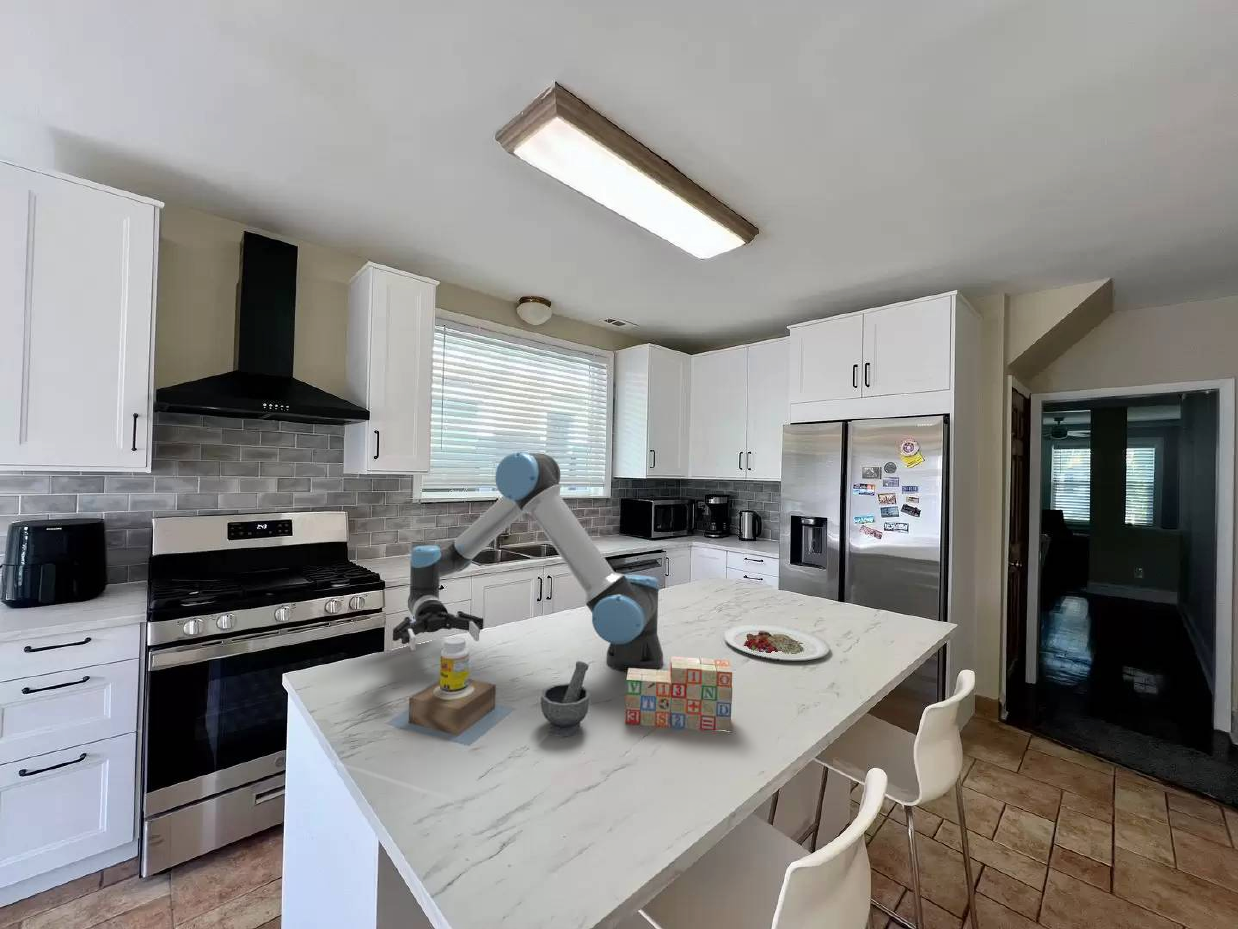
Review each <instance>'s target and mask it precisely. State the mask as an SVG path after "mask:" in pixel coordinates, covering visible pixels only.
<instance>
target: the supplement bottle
mask: <svg viewBox="0 0 1238 929" xmlns="http://www.w3.org/2000/svg"><path fill="white" fill-rule="evenodd" d="M469 666H470V649H469V648H468V647H467V646H466V638H464V637H462V636H455V637H454V636H453V637H449V638H447V639H445V643H444V648H443V649H442V650H441V652H440V670H439V674H440V676H439V681H440V690H441V692H443V693H444V694H449V695H453V694H459V693H462V692H464V691H465V690H466V689H467V688H468V679H469V677H470V676H469V671H470V670H469V668H470V667H469Z"/></svg>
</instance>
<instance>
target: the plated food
mask: <svg viewBox="0 0 1238 929" xmlns="http://www.w3.org/2000/svg"><path fill="white" fill-rule="evenodd" d="M746 632H759V633H758V635H753V634H750V633H749V634H747V635H746V637H747V640H748V641H747V640H746V641H745V643H744V645H743V646H747V647H748V648H749V649H751V650H753V651H754V650H755V651H759V652H764V651H765V652H766V653H771V652H772V651H775V652H778V651H782V652H783V653H785V654H786V653H787V654H789V653H791V654H797V653H800V652H802V651H803V652H804V650H805V649H804V648H803V647H802V646H801V645H800V644H803V643H802V642H799V641H796V640H793V639H792V638H790V637H789V636H787V635H784V634H779V633H785V634H788V635H792V636H795V637H797V638H803V639H804V640H806V641H808V642H810V643H811V644H814V645H815V647H816V650H817V652H816V653H815V654H814V655H810V654H809V656H807V657H801V658H780V657H772V656H767V655H762V654H758V653H754V652H752V651H749V650H746V649H744V648H742V647H741V646H739V645H738V644H737V643H736V641H735V639H736V638H737V637H738V636H739V635H741V634H743V633H746ZM769 632H779V633H778V634H772V635H773V636H772V635H771V634H770V633H769ZM723 638H724V640H725V642H726V643H727V644H728V645H730V646H731V647H733V648H734V649H736V650H739V651H741V652H744V653H746V654H749V655H754V656H756V657H760V656H761V658H765V657H766V659H770V658H771V660H777V659H779V660H778V661H808V660H815V659H820V658H823V657H825V656H826V655H828V654H829V653H830V650H831V648H830V644H828V642H827V641H826V640H825V639H823V638H822V637H820V636H818V635H816V634H814V633H810V632H807V631H805V630H800V629H797V628H792V627H789V626H781V625H773V624H745V625H743V624H742V625H737V626H734V627H731V628H730V629H728V630H726V631H725V632H724V636H723ZM798 642H799V643H798ZM806 650H807V649H806ZM809 650H813V649H809ZM814 650H815V649H814ZM803 656H806V655H803Z"/></svg>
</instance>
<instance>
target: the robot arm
mask: <svg viewBox="0 0 1238 929" xmlns="http://www.w3.org/2000/svg"><path fill="white" fill-rule="evenodd" d="M560 481H561V469H560V466H559V464H558V463H557V461H556V460H555V459H554V458H553V457H552V456H550V455H547V454H545V453H538V452H537V453H535V452H534V453H532V452H526V451H518V452H513V453H510V454H508V455H507V456H504V457H503V459H502V460H501V461H500V462H499V463H498V465H497V467H496V472H495V485H496V488H497V490H498V492H499V493H500V494H501V495H502V496H501V497H500V498H499V499H498V500H496V501H495V503H494V504H492V505H491V506H490V507H489V508H488V509H487V510H486V511H485V512H484V513H483V514H482V515H480V516H479V518H477V519H476V520H474V522H473V523H471V525H470V526H468V527H467V529H465V530H464V531H463V532H462V533H461V534H460V535H459V536H457V538H455V539H454V541H453V542H451V543H450V544H449V545H448V546H447V547H445V548H441V547H439V546H438V545H427V544H426V545H418V546H415V547H413V548H412V550H411V555H410V556H411V557H410V562H409V564H410V566H409V567H410V571H409V572H410V573H409V574H410V578H409V582H410V583H409V584H410V586H409V594H408V597H407V608H408V610H409V612H410V613H411V615H412V617H413V618H410V616H405V617H404V619H403V621H402V622H399V624H398V625H397V626H395V627H394V628H393V629H392V641H393V642H397V641H399V640H400V639H401V644H402V645H406V644H407V643H408V645H409V649H411V651H416V642H417V641H416V636H417V635H419V634H421V633H422V634H424V633H435V632H438V631H440V630H443V629H444V630H452V629H457V630H461V631H468V634H469V635H470V636H471V637H472V639H473V640H474V641H475V642H479V641H480V634H481V631H482V630H483V629H484V618H483V617H479V616H475V615H472V614H468V613H465V612H463V611H460V610H459V611H457V612H456V614H452V613H449V611H448V609H447V608H446V606H445V605H444V603H443V602H442V600H440V579H441V578H442V577H446V576H449V575H452V574H455V573H459V572H462V571H463V570H465V569H467V568H469V567H470V566H471V565H472V561H473V559H474V558H475V557H476V556H477V555H479V553H480V552H481V551H483V550H484V549H485V548H486V547H487V546H488V545H489V544H491V542H493V541H494V540H495V539H496V538H498V537H499V535H501V534H502V532H504V531H505V530H507V528H508V527H509V526H511V525H512V524H513V523H514V522H515V521H516V520H517V519H518V518H520V517H521V516H522V515H523V514H528V515H531V516H532V517H533V519H534V520H535V521H536V523H537V524H538V526H539V527H540V529H541V531H542V532H543V534H545V536H546V537H547V539H548V540H549V541H550V543H551V545H552V546H553V548H554V549H555V550H556V552H557V554H559V556H560V558H561V559H562V561H563V562H564V564H565V565H566V566H567V568H568V569H569V571H570V572H571V574H572V575H573V577H575V578H574V579H576V581H577V583H578V584H579V585H580V586H581V588H582V589H583V591H584V592H585V601H584V602H585V605H586V606H587V608H588V609H589V611H590V612H591V614H592V616H591V617H592V618H591V623H592V626H593V629H594V631H595V632H596V634H597V635H598V637H599V638H601V639H602V640H603V641H605V642H606V643H608V644H609V645H608V648H607V652H606V664H607V665H608V666H610V667H611V668H613V669H614V670H615V669H616V670H618V671H621V672H627V673H628V668H636V669H652V670H659V669H660V668H661V667H662V666H663V664H664V654H663V649H662V645H661V642H660V639H659V636H658V614H659V613H658V612H659V611H658V610H659V591H660V588H659V580H658V579H657V577H653V576H649V575H640V574H624V573H621V572H619V573H618V572H616V571H614V569H613V568H612V567H611V565H610V564H609V563H608V561H607V559H606V558H605V557H604V556H603V554H602V552H601V551H600V550H599V548H598V547H597V546H596V544H595V542H594V541H593V540H592V538H591V537H590V536H589V534H588V533H587V531H586V530H585V528H583V526H582V525H581V523H580V522H579V520H578V518H577V517H576V516H575V515H574V513H573V512H572V510H571V509H570V507H569V506H568V504H567V503H566V502H565V501H564V499H563V497H562V496H561V495H560V494H561V489H562V488H561V487H562V486H561V484H560Z"/></svg>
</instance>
